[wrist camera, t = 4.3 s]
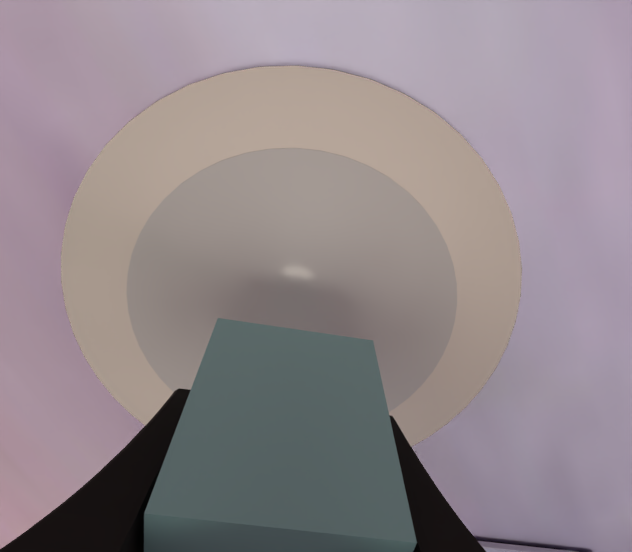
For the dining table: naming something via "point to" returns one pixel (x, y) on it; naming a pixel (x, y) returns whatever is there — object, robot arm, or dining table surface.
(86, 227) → the serving plate
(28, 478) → the dining table surface
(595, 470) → the dining table surface
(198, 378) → the teal block
